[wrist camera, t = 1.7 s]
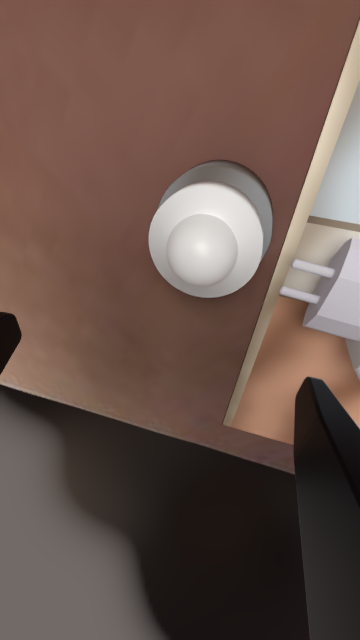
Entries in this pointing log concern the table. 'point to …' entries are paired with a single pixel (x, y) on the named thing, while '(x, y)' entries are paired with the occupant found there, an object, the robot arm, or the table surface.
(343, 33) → the table surface
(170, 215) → the dome
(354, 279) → the charger
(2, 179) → the table surface
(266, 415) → the game board
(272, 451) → the table surface
